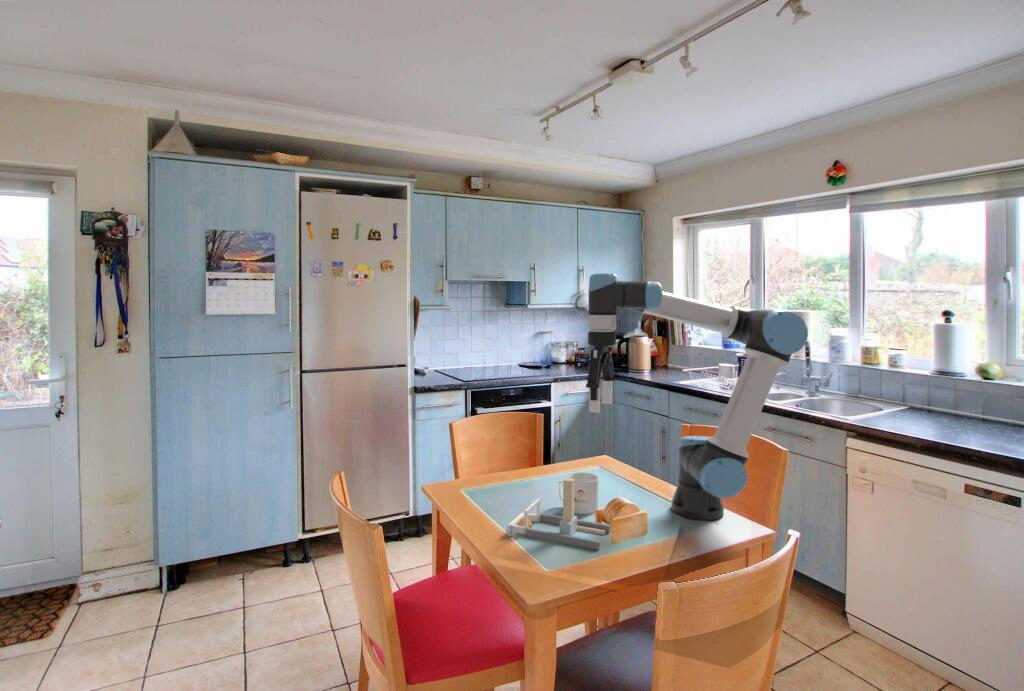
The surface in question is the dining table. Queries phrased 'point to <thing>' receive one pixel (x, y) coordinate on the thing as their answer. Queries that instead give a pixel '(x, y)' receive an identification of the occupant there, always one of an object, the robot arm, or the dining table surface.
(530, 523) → the ball
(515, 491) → the dining table surface
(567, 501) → the post
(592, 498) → the mug
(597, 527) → the pitch side rails
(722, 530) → the dining table surface
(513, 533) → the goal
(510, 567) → the dining table surface
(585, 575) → the dining table surface
